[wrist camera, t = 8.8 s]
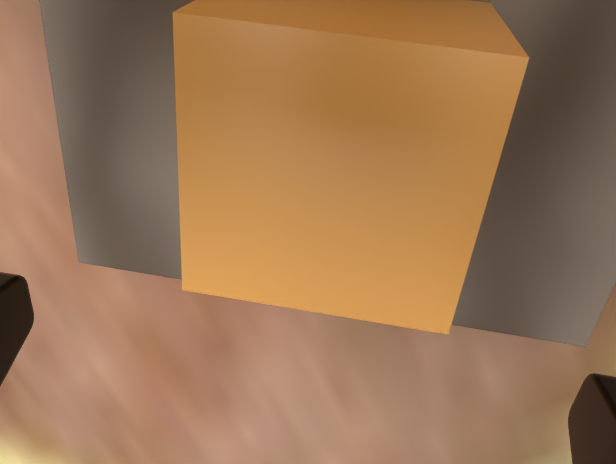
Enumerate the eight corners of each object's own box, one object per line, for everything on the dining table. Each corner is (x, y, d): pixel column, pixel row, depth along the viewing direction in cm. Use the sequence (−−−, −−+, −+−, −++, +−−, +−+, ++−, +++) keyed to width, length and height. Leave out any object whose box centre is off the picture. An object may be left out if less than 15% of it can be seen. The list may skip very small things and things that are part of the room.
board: (799, -168, 14) (829, -172, 13) (577, 325, 22) (585, 346, 21) (28, -240, 16) (1, -249, 15) (92, 246, 24) (78, 262, 23)
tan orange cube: (490, 2, 16) (529, 57, 11) (437, 218, 20) (448, 334, 14) (245, -27, 16) (172, 12, 11) (239, 188, 20) (181, 289, 15)
